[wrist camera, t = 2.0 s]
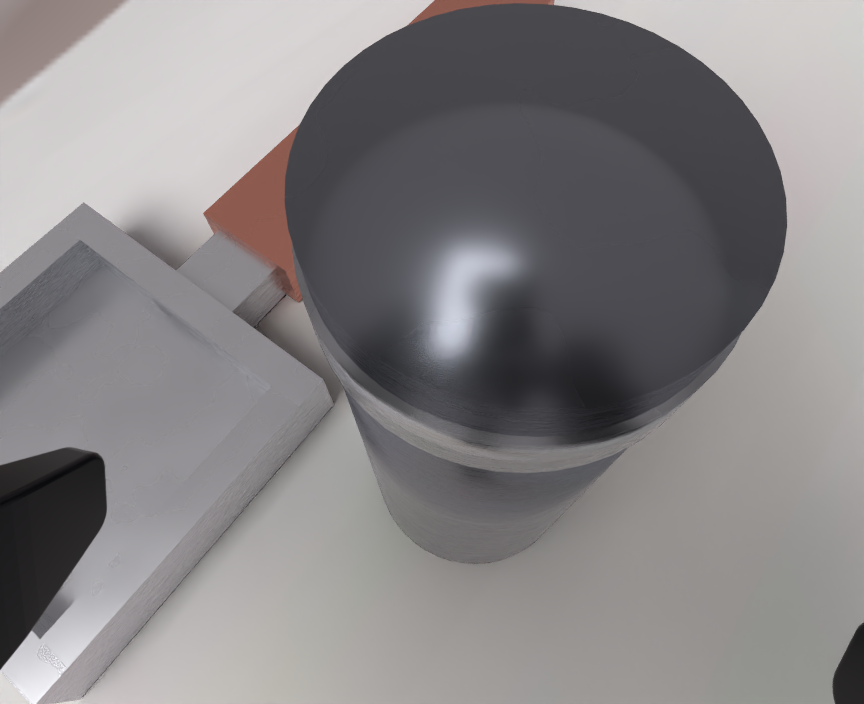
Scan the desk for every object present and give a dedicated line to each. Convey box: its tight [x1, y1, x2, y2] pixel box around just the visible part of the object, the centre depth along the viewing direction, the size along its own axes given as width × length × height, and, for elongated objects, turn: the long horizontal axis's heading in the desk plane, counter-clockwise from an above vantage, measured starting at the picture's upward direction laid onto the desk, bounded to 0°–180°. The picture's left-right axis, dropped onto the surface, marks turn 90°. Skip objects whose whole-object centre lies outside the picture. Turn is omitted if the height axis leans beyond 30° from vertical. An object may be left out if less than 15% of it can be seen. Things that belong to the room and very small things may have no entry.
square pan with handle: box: [0, 0, 554, 704], centre depth 21 cm, size 27×10×2 cm, turn 143°
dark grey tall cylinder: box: [285, 3, 787, 564], centre depth 13 cm, size 6×6×13 cm
